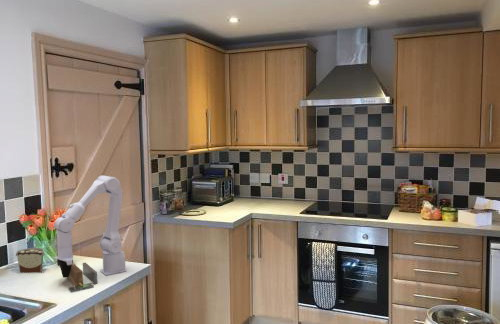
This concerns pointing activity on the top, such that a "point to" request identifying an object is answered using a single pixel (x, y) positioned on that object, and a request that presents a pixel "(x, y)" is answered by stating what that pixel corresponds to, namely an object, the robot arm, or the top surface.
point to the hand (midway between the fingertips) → (65, 277)
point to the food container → (30, 260)
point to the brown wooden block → (76, 276)
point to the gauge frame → (90, 274)
